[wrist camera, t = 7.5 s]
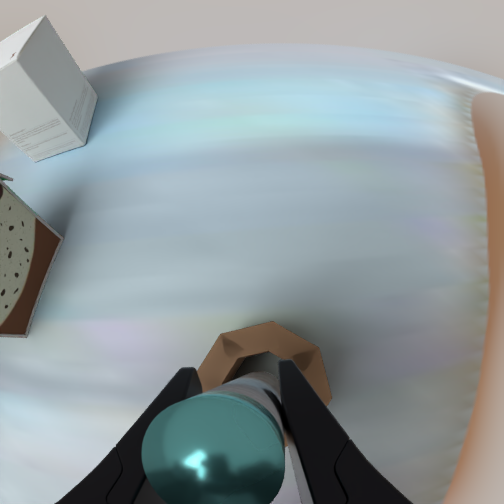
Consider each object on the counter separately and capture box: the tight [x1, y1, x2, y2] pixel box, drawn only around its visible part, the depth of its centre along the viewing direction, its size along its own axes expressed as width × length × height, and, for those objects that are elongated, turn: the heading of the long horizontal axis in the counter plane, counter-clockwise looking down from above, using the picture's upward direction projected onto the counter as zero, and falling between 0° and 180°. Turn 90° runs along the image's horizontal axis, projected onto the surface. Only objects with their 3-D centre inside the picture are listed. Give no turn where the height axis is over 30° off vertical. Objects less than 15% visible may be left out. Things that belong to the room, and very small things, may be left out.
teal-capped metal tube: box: [142, 371, 285, 504], centre depth 10 cm, size 2×2×11 cm
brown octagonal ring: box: [197, 321, 332, 447], centre depth 18 cm, size 7×7×4 cm
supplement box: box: [0, 15, 98, 162], centre depth 23 cm, size 7×7×13 cm
